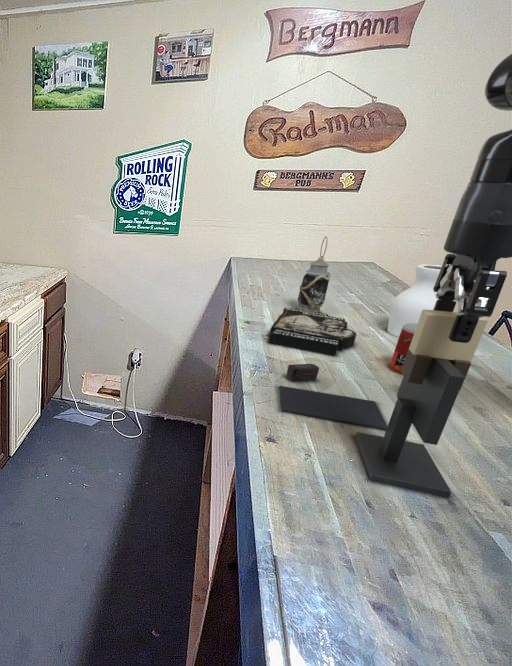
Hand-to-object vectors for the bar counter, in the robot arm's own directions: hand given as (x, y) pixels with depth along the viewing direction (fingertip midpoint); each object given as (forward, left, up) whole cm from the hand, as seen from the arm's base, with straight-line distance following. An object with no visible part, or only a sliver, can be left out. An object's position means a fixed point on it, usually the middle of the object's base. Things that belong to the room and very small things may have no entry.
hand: (447, 332), depth 68 cm
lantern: (+6, -93, -24) cm, 96 cm away
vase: (-20, -79, -24) cm, 85 cm away
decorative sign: (+7, -66, -24) cm, 71 cm away
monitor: (0, 0, -24) cm, 24 cm away
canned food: (-12, -47, -24) cm, 54 cm away
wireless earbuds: (+12, -32, -24) cm, 42 cm away
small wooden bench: (0, 0, -8) cm, 8 cm away
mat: (+8, -18, -24) cm, 31 cm away
